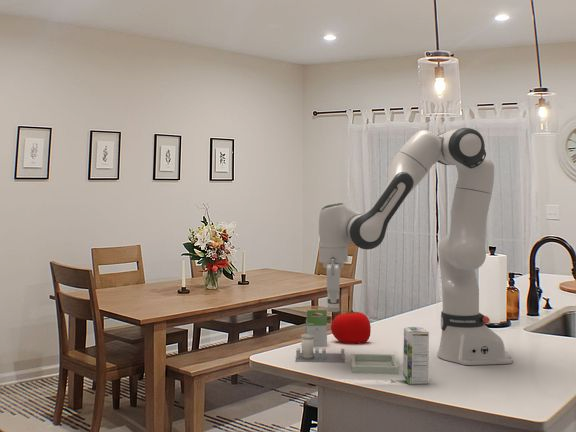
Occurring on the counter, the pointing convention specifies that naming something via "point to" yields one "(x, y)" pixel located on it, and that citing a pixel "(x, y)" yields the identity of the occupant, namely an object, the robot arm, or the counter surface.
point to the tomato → (351, 327)
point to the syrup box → (416, 355)
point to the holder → (316, 352)
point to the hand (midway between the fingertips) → (333, 300)
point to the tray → (374, 369)
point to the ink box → (317, 327)
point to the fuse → (333, 306)
